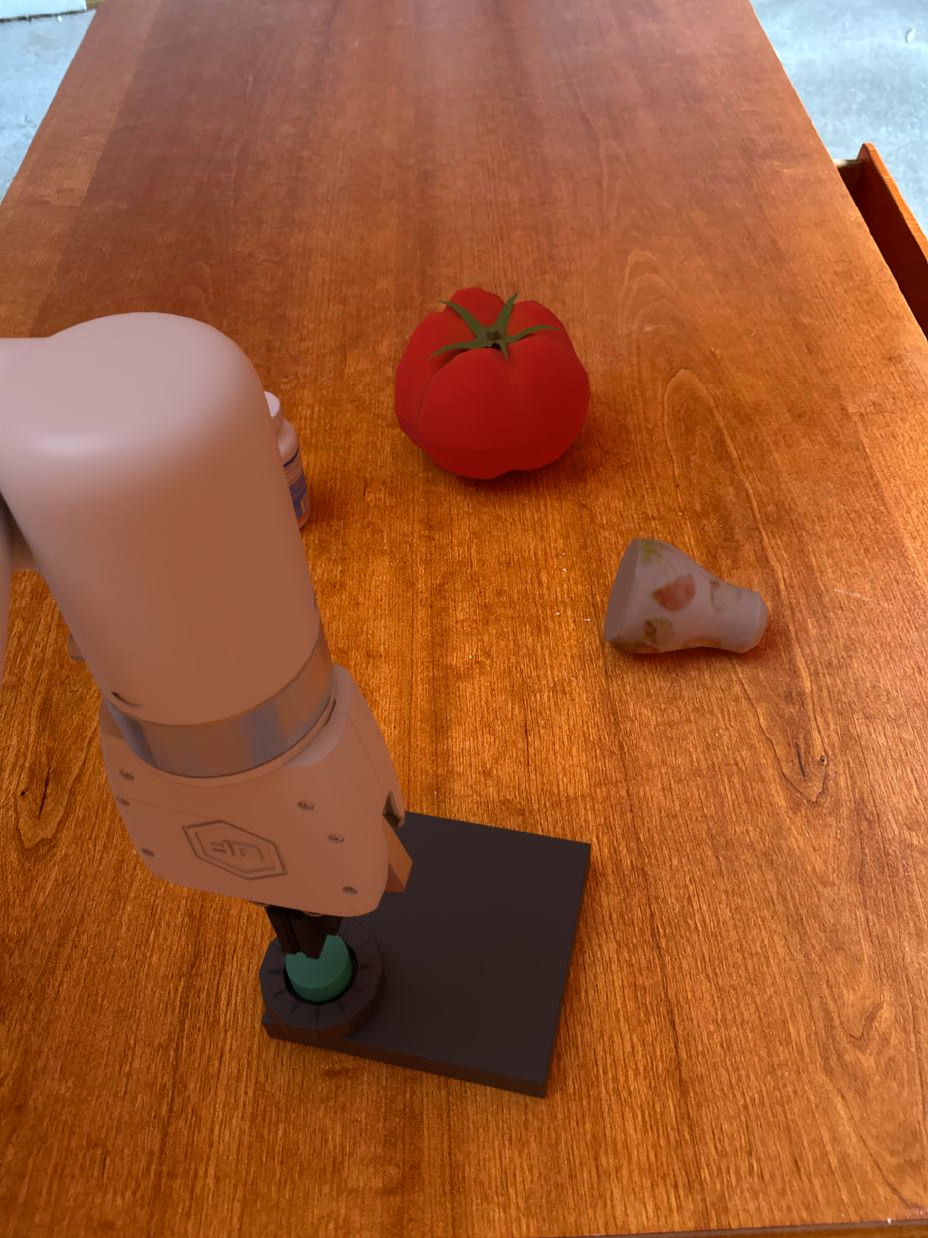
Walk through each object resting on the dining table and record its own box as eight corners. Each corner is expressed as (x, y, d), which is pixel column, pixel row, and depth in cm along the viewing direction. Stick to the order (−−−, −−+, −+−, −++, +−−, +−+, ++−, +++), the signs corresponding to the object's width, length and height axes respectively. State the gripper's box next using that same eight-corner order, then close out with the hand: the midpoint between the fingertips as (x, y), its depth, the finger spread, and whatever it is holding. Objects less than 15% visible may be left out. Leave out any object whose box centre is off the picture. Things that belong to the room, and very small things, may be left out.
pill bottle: (222, 520, 83) (191, 412, 76) (277, 481, 85) (251, 373, 78) (273, 552, 80) (245, 443, 73) (328, 510, 83) (306, 401, 76)
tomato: (609, 488, 83) (615, 350, 74) (416, 523, 81) (399, 388, 73) (562, 382, 92) (562, 249, 83) (387, 413, 90) (369, 280, 82)
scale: (256, 1044, 56) (241, 1014, 54) (339, 816, 65) (330, 781, 63) (543, 1109, 53) (542, 1081, 51) (590, 861, 62) (592, 826, 60)
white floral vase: (777, 687, 70) (712, 608, 63) (634, 697, 75) (560, 625, 68) (787, 582, 73) (726, 495, 66) (649, 599, 79) (580, 521, 72)
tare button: (282, 995, 55) (276, 981, 54) (302, 938, 57) (297, 923, 56) (341, 1008, 54) (336, 994, 53) (360, 950, 56) (355, 935, 55)
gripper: (-31, 726, 38) (130, 972, 51) (400, 798, 35) (450, 1040, 48) (72, 567, 43) (194, 830, 56) (459, 618, 39) (490, 883, 53)
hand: (312, 926), depth 52 cm, fingers closed
